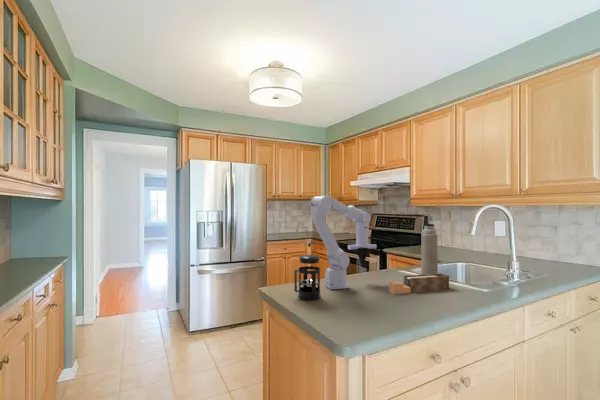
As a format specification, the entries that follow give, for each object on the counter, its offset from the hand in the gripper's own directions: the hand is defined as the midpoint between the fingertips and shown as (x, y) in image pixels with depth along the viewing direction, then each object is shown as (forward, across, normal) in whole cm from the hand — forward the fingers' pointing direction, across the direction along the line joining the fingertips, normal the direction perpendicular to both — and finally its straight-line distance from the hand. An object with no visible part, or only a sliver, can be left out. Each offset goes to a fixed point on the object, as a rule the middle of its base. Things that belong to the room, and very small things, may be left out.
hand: (362, 263), depth 151 cm
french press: (+10, -32, -16) cm, 37 cm away
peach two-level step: (+10, +9, -18) cm, 23 cm away
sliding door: (+9, +21, -17) cm, 29 cm away
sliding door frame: (+9, +24, -17) cm, 31 cm away
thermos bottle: (+10, +41, +4) cm, 42 cm away
